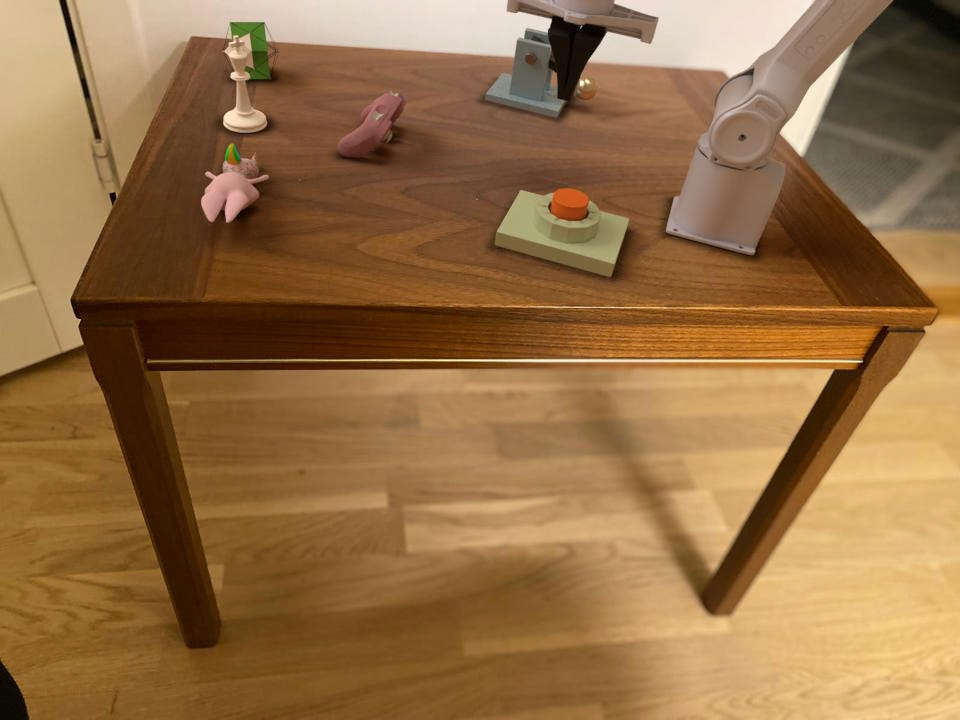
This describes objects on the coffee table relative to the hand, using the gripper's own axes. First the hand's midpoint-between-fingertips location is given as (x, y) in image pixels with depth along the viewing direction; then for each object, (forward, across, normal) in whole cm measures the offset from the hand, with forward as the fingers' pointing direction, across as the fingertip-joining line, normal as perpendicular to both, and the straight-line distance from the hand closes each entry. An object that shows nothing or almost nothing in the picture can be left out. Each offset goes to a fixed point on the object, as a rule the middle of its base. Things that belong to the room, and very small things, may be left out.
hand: (565, 96), depth 77 cm
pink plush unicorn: (+11, -28, -20) cm, 36 cm away
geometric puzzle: (+11, -42, +8) cm, 44 cm away
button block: (+10, +4, -10) cm, 15 cm away
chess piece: (+11, -36, -4) cm, 38 cm away
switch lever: (+7, -5, +21) cm, 23 cm away
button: (+7, +4, -10) cm, 13 cm away
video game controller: (+11, -21, -1) cm, 24 cm away
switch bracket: (+10, -8, +21) cm, 25 cm away
